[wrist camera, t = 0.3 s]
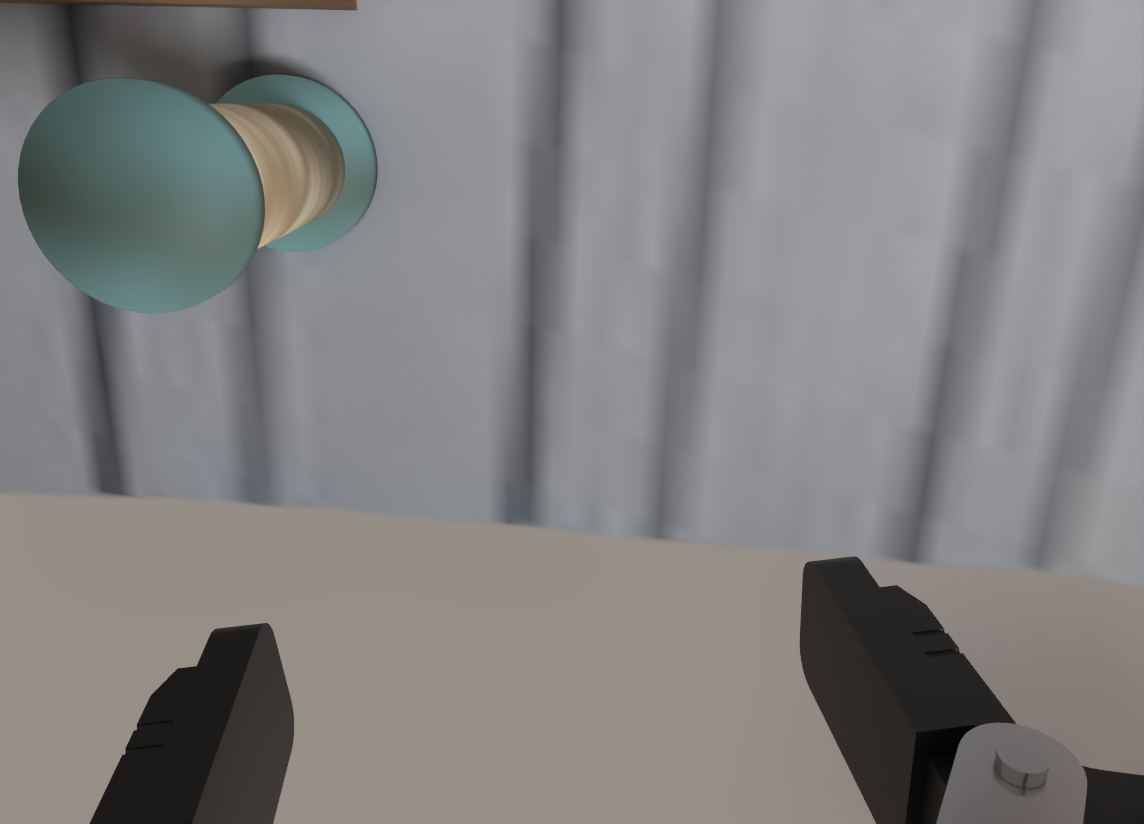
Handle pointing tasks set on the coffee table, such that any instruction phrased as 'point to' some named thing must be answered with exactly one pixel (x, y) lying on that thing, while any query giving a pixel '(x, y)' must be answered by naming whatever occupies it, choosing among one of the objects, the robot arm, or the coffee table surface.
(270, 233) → the bobbin
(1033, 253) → the coffee table surface
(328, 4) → the brown wooden tray
